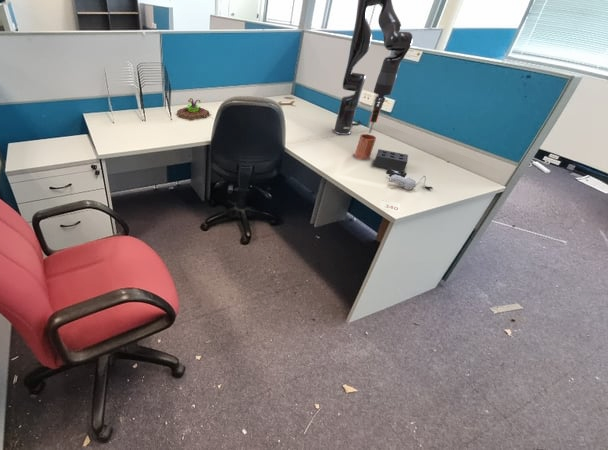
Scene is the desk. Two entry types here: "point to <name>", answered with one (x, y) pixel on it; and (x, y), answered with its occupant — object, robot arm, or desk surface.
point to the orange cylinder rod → (373, 122)
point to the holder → (390, 160)
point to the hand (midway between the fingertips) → (373, 120)
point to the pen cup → (365, 146)
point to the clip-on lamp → (403, 179)
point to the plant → (192, 111)
